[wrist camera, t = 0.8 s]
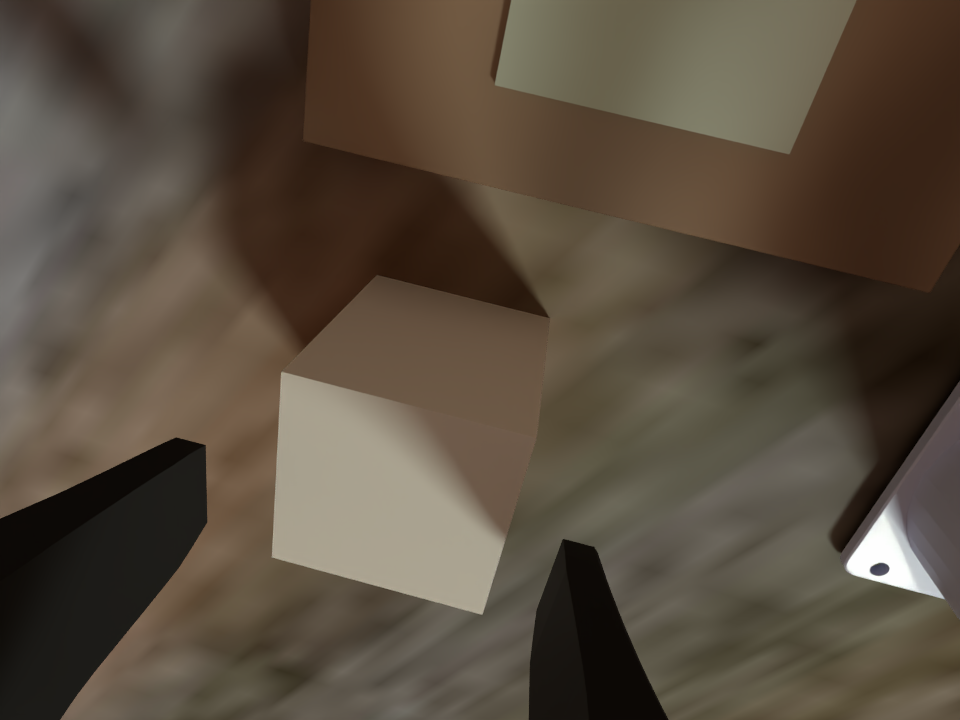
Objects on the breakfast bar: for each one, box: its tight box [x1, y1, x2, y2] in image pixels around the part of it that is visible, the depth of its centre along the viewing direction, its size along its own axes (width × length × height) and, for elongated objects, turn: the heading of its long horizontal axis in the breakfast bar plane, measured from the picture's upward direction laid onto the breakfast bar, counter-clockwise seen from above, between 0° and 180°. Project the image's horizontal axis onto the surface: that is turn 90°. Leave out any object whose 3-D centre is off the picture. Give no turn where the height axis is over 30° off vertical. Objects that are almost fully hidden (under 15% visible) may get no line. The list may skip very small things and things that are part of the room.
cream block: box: [272, 275, 550, 615], centre depth 15 cm, size 5×5×6 cm
